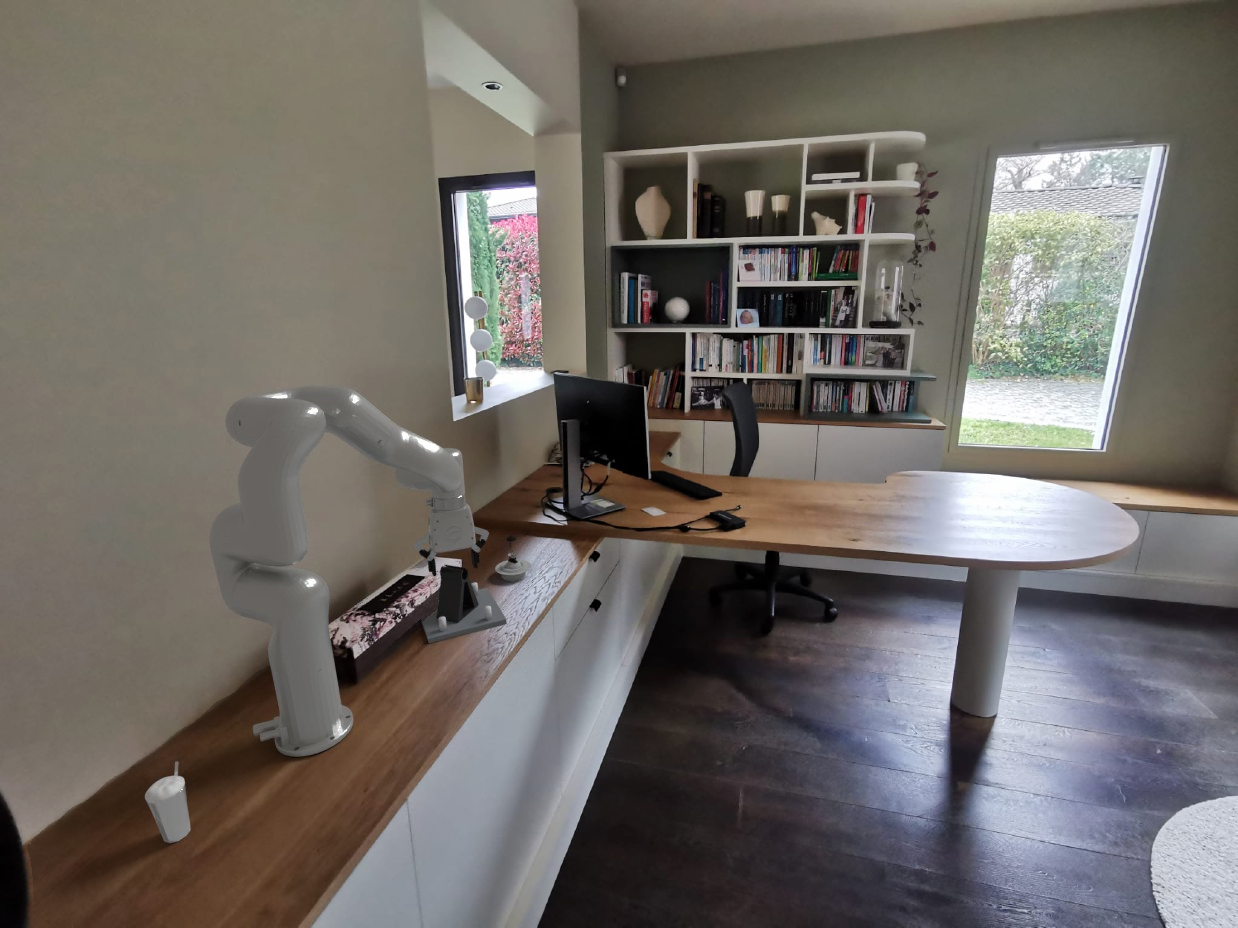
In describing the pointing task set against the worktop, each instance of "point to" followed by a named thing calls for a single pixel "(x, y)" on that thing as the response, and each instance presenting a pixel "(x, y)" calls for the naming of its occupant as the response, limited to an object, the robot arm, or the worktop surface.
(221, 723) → the worktop surface
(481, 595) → the base plate
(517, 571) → the grey spinning top
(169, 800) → the milkshake
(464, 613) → the phone stand
